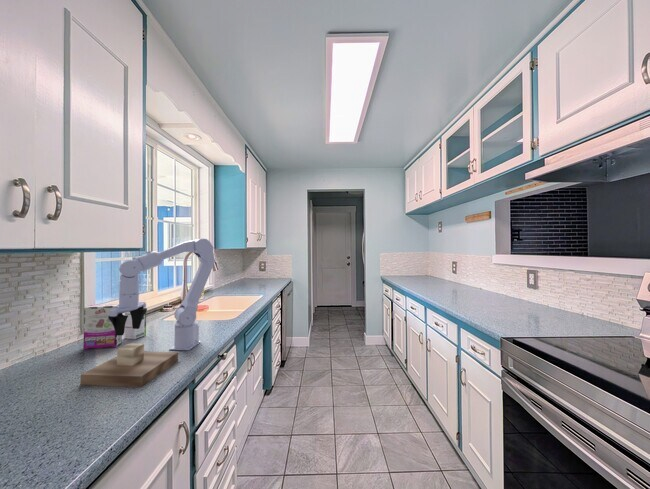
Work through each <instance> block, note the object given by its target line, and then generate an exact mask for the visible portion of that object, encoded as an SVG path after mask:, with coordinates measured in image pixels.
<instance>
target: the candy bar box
mask: <svg viewBox="0 0 650 489" xmlns="http://www.w3.org/2000/svg"><path fill="white" fill-rule="evenodd" d="M117 306H119V303H112V304H111V303H109V304H93V305H92V304H91V305H88V306H85V307H84V308H83V350H97V349H108V348H117V347H118V346H120V345H121V344H122V341H123V340H122V339H123V335H122V336H121V335H116V332H115V329H114V326H113V324H112V322H111V321H110V320H109V319H108V316H109V315H110V310H113V309H115V308H117Z"/></svg>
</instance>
